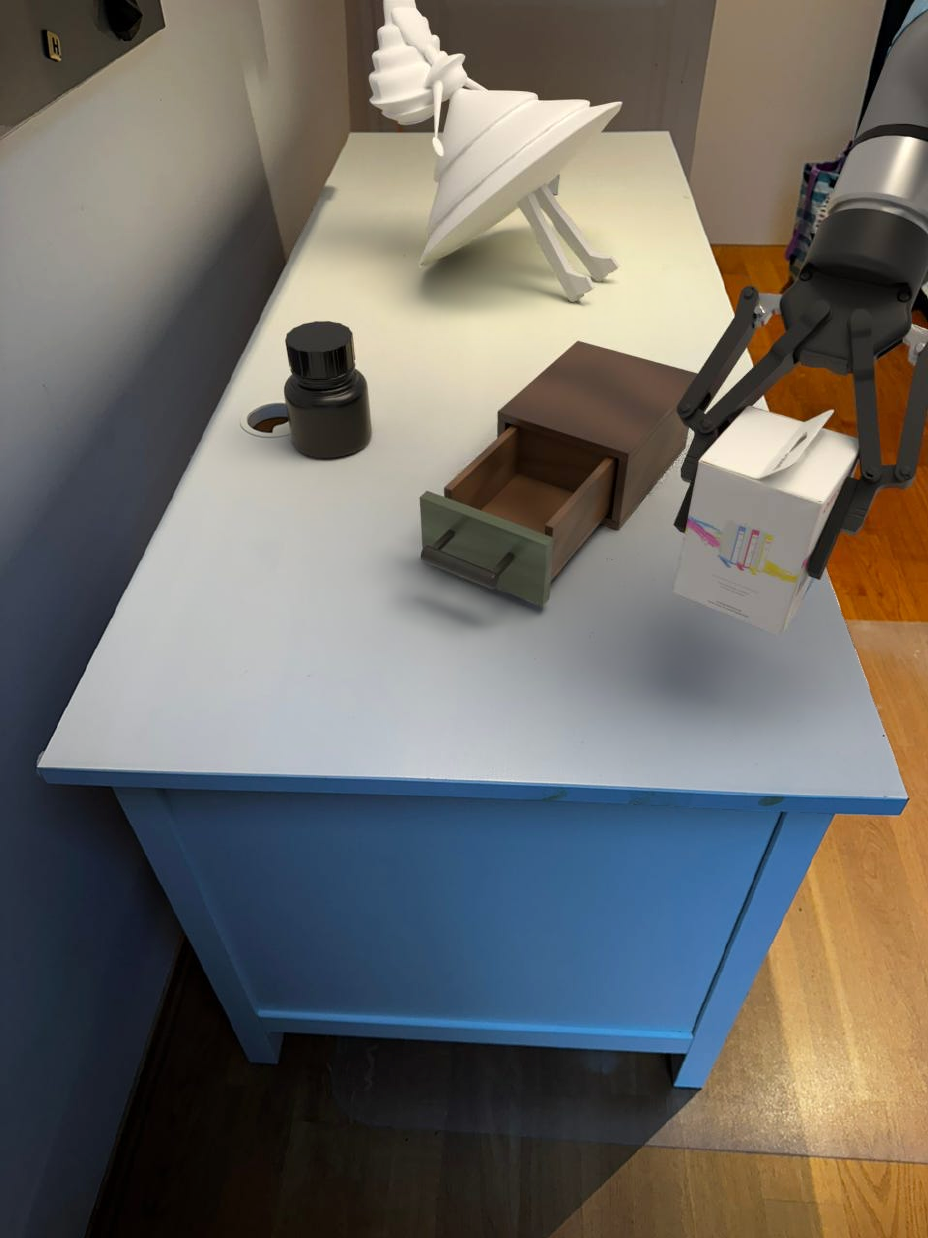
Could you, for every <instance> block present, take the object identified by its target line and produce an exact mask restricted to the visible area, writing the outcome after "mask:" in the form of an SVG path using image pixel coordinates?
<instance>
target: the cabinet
mask: <svg viewBox="0 0 928 1238" xmlns="http://www.w3.org/2000/svg"><path fill="white" fill-rule="evenodd" d="M698 373H699V372H695V371H691V370H688V369H684V368H679V367H676V366H674V365H673V366H672V365H668V364H665V363H662V362H657V361H655V360H650V359H647V358H643V357H639V356H636V355H632V354H628V353H625V352H621V351H618V350H614V349H611V348H610V349H609V348H606V347H602V346H598V345H595V344H592V343H588V342H584V341H580V340H577V341H576V342H575V343H573V344H572V345H570V347H569V348H568V349H566V350H564V352H563V353H562V354H560V356H559V357H557V358H556V359H555V360H554V361H553V362H552V363H551V364H549V366H547V367H546V368H545V369H544V370H543V371H542V372H540V374H538V375H537V376H536V377H535V378H534V379H533V380H531V381H530V382H529V383H528V384H527V385H526V386H525V387H524V388H522V389H521V390H520V391H519V392H518V393H517V394H516V395H514V396H513V397H512V398H511V399H510V400H509V401H508V402H507V403H505V404H504V405H503V406H501V408H500V409H499V410H498V411H497V417H496V418H497V420H496V421H497V422H496V423H497V425H496V426H497V427H496V439H497V438H498V437H499V436H500V435H501V434H503V433H504V432H505V431H506V430H507V429H508V428H509V427H510V426H511V425H512V424H513V425H516V426H519V427H522V428H525V429H528V430H531V431H534V432H537V433H541V434H544V435H547V436H550V437H553V438H556V439H559V440H562V441H565V442H568V443H571V444H574V445H578V446H581V447H584V448H587V449H590V450H593V451H596V452H599V453H602V454H605V455H608V456H612V457H615V458H618V459H619V464H618V472H617V480H616V488H615V495H614V503H613V508H612V509H611V511H610V512H609V513H608V514H607V515H606V517H605V518H604V519H603V520H602V521H601V522H600V524H599V525H603V526H606V527H609V528H611V529H613V530H617V531H620V529H621V528H622V527H623V526H624V524H625V523H626V522H627V520H628V519H629V518H630V517H631V515H633V513H634V512H635V511H636V510H637V509H638V507H639V506H640V504H641V503H642V502H643V501H644V500H645V499H646V497H647V496H648V495H649V494H650V492H651V491H652V490H653V488H654V487H655V486H656V485H657V484H658V482H659V481H660V480H661V479H662V477H663V476H664V475H665V473H666V472H667V471H668V470H669V469H670V468H671V466H672V465H673V464H674V462H675V461H676V460H677V459H678V457H680V456H681V454H682V453H683V451H684V450H685V449H686V447H687V443H688V438H689V437H688V436H689V431H690V428H689V427H687V426H685V425H684V424H683V422H682V420H681V419H680V417H679V415H678V413H677V405H678V404H679V402H680V401H681V399H682V397H683V396H684V394H685V393H686V391H687V390H688V388H689V387H690V385H691V384H692V382H693V380H694V379H695V377H696V376H697V374H698Z"/></svg>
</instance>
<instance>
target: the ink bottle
mask: <svg viewBox="0 0 928 1238" xmlns="http://www.w3.org/2000/svg"><path fill="white" fill-rule="evenodd" d="M353 335H354V333H353V332H352V330H351V329H350V327H349V326H347V325H344V324H343V323H341V322H335V321H330V320H326V321H325V320H321V321H320V320H316V321H312V322H311V321H310V322H305V323H302V324H300V325H298V326H295V327H293V328H292V329H291V330H289V332H287V333H286V336H285V340H284V341H285V349H286V354H287V361H288V367H289V368H290V369H289V370H290V374H291V375H289V377H288V378H287V379H286V381H285V383H284V386H283V398H284V402H285V408H286V409H285V410H286V414H287V420H288V427H289V432H290V439H291V441H292V443H293V445H294V446H295V448H296V449H297V450H299V451H300V453H303V454H304V455H306V456H309V457H313V458H322V459H328V458H329V459H330V458H339V457H344V456H347V455H351V454H354V453H356V452H358V451H360V450H362V449H363V448H364V447H366V446H367V445H368V444H369V442H370V441H371V439H372V434H373V429H372V427H373V426H372V417H371V407H370V395H369V387H368V382H367V379H366V377H365V375H363V373H362V371H360V370H358V369H356V354H355V352H356V351H355V344H354V336H353Z"/></svg>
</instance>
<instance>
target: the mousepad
mask: <svg viewBox="0 0 928 1238" xmlns="http://www.w3.org/2000/svg"><path fill="white" fill-rule="evenodd" d="M559 182H560V174H558V175H557V176H556V177H555V178H554V179H553V180H552V181H551V182H550V183H548V184H547V186H548V187H549V189H550V190H551V192H552V194H553V195H558V193H559V184H560V183H559Z"/></svg>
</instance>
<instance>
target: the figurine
mask: <svg viewBox="0 0 928 1238" xmlns="http://www.w3.org/2000/svg"><path fill="white" fill-rule="evenodd" d="M382 7H383V16H384V25H383V26H381V27H380V28H378V29H377V33H376V35H377V41H378V49H377V50H376V51H374V52H373V53H372V55H371V60H372V64H373V67H374V71H372V72H371V73H370V74H369V75H368V82H369V85H370V88H371V91H372V96H371V97H370V98H369V102H370V104H372V105H373V107H375V108H378V109H379V110H382V111H381V115H383V116H384V117H386V118H388V119H390V120H394V121H397V124H398V125H401V126H409V125H416V124H418V123H422V122H424V121H426V120H429V119H430V118H432V117H433V119H434V120H433V123H434V125H433V126H434V136H433V138H432V146H433V149H434V152H435V154H437V157H436V161H435V166H434V172H433V180H434V182H435V183H438V184H437V189H436V193H435V196H434V199H433V203H432V206H431V209H430V213H429V216H428V220H427V225H426V229H425V230H426V231H425V235H426V236H427V237H428V236H429V239H428V241H427V243H426V246H425V248H424V250H423V252H422V255H421V257H420V259H419V262H418V267H426V266H429V265H430V264H432V263H433V262H435V261H437V260H440V259H442V258H444V257H447V256H449V255H451V254H453V253H454V252H457V250H459V249H461V248H463V247H464V246H466V245H468V244H469V243H470V242H472V241H473V240H475V239H476V238H477V237H479V236H481V235H482V234H484V233H486V232H488V231H489V230H491V229H492V228H494V227H495V226H497V225H498V224H499V223H500V222H502V221H504V220H505V219H506V218H507V217H509V216H510V215H512V214H513V213H514V212H516V211H517V210H520V211H521V213H522V214H523V216H524V217H525V219H526V221H527V222H528V224H529V225H530V227H531V229H532V231H533V234H534V236H535V237H534V238H535V239H536V243H537V244H538V246H539V248H540V250H541V251H542V254H543V255H544V256H545V258H546V260H547V262H548V264H549V266H550V267H551V269H552V271H553V273H554V275H555V276H556V278H557V280H558V282H559V283H560V286H561V287H562V289H563V292H564V293H565V295H566V297H567V299H568V300H569V301H570V302H572V303H575V302H577V301H579V300H580V299H582V298H583V297H585V294H587V293H590V292H591V291H593V290H594V289H595V288H596V286H595V284H594V282H593V281H592V279H591V277H592V278H593V279H594V281H595V282H598V283H600V282H601V281H603V280H604V279H606V278H607V276H608V275H609V274H611V273H614V272H616V271H617V269H619V268H620V266H621V264H620V263H619V262H618V260H616V258H615V256H614V255H609V254H604V253H602V252H599V251H597V250H594V248H593V247H592V245H591V244H590V242H589V241H588V239H587V238H586V237H585V235H584V234H583V232H582V231H581V229H580V228H579V227H578V225H577V224H576V223H575V221H574V219H573V218H572V217H571V216H570V215H569V214H568V213H567V212H566V211H565V209H563V207H562V205H560V203H559V202H558V200H557V199H556V196H555V194H552V192H551V190H550V189H549V187H548V186H547V184H548V183H550V182H551V181H552V180H553V179H554V178H555V177H556V176H557V175H558V174H559V175H560V174H561V173H562V172H563V171H564V170H565V169H566V168H567V167H568V166H569V165H570V164H571V163H572V162H573V161H575V159H576V158H577V157H579V156H580V155H581V154H582V153H583V152H584V151H585V150H586V149H587V148H588V147H589V146H590V145H591V144H592V143H593V142H594V141H595V140H596V139H597V137H598V136H599V135H600V134H602V133H603V131H604V130H605V128H606V126H607V125H608V124H609V123H610V122H611V120H612V119H613V118H614V117H615V116H616V115H617V114H618V113H619V112H620V110H621V108H622V106H623V101H614V102H609V103H604V104H599V105H595V106H590V105H591V102H590V100H588V99H587V100H586V99H555V100H554V99H553V100H539V97H538V94H536V93H535V92H531V91H523V90H521V91H520V90H494V89H493V90H488V89H487V88H485V86H483V85H480V84H479V83H478V82H476V81H475V80H473V79H471V78H470V77H468V74H467V72H466V70H465V69H464V67H463V63H464V62H465V59H466V54H463V53H455V54H451V55H448V53H447V52H446V51H444V50H440V49H441V48H440V47H441V40H440V37H439V36H438V35H436V34H432V32H431V29H430V24H429V20H428V18H427V17H426V16H423V15H422V14H421V13H420V11H419V10H418V9H417V5H416V0H383V1H382ZM463 87H465V88H463ZM448 100H449V103H448V110H447V113H446V118H445V121H444V122H445V123H444V127H443V132H442V134H441V135H442V136H441V139H439V138H438V135H439V134H438V133H439V124H440V118H441V117H440V116H441V107H442V103H443V102H446V101H448ZM544 214H545V215H546V216H547V217H548V218H549V220H550V222H551V223H552V225H553V226H554V229H555V230H556V232H557V234H558V235H560V237H561V238H562V239H563V241H564V242H565V244H566V245H567V246H568V247H569V248H570V250H571V251H572V252H573V253H574V255H575V256H576V257H577V258H578V260H579V261H580V262H581V263H582V265H583V266H584V267H585V269H586V270H587V272H588V273H589V274H590V275H591V277H590V276H588V275H585V274H582V273H580V272H578V271H576V270H574V269H573V267H572V264H571V263H570V261H569V260H568V257H567V255H566V253H565V251H564V248H563V247H562V244H561V243H560V241H559V239H558V236H557V235H556V232H555V231H554V230H553V228H552V227H551V225H550V224H549V223H548V221H547V220H546V216H545V215H544Z"/></svg>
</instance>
